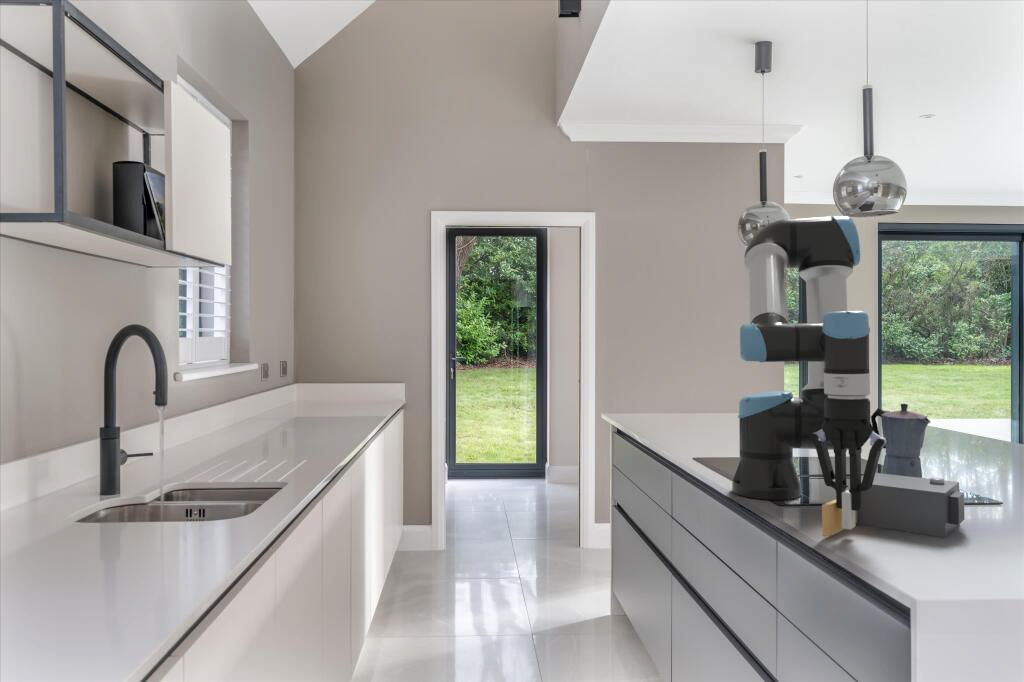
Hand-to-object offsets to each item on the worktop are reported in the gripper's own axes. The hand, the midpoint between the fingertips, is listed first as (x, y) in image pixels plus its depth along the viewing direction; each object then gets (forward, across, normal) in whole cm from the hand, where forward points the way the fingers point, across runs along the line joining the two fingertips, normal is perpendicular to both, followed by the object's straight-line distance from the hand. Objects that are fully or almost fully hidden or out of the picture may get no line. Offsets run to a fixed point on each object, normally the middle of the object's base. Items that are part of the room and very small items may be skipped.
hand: (848, 527), depth 129 cm
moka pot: (+2, -4, +50) cm, 50 cm away
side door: (+2, -2, +3) cm, 4 cm away
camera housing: (+2, +5, +16) cm, 17 cm away
